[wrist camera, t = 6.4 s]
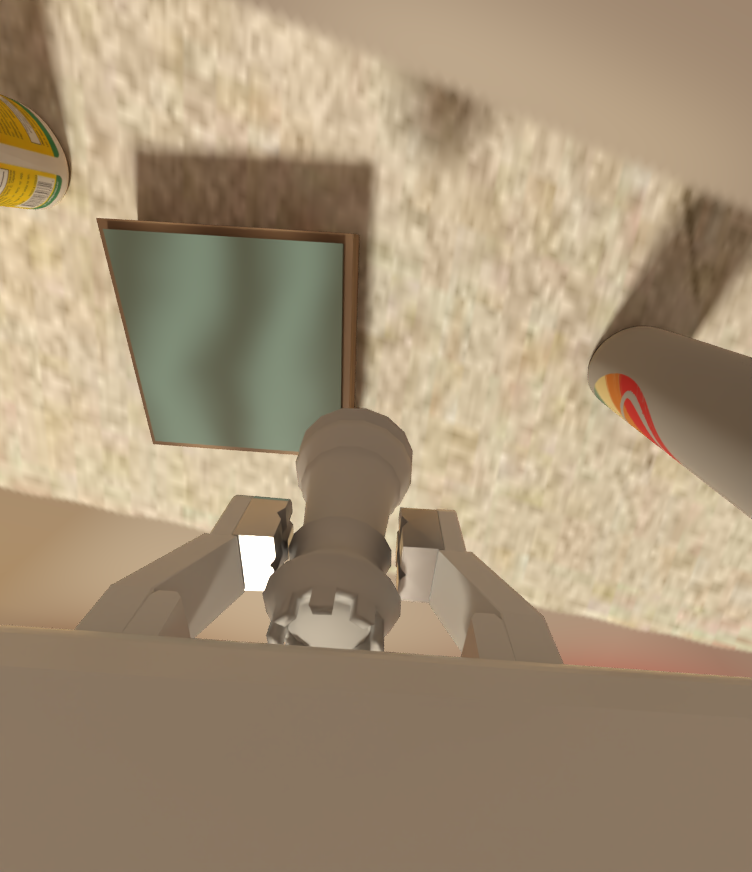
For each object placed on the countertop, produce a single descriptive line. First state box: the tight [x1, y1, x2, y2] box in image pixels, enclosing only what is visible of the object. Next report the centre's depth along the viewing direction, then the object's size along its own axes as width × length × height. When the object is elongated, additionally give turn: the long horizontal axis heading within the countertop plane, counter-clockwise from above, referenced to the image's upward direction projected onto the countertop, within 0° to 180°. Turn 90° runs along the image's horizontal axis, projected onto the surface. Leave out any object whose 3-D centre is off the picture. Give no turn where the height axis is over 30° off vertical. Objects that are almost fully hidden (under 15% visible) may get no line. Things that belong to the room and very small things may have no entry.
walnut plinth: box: [96, 218, 359, 455], centre depth 25 cm, size 14×14×4 cm
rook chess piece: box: [263, 408, 413, 652], centre depth 11 cm, size 4×4×8 cm
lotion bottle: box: [588, 326, 752, 519], centre depth 17 cm, size 6×6×20 cm
